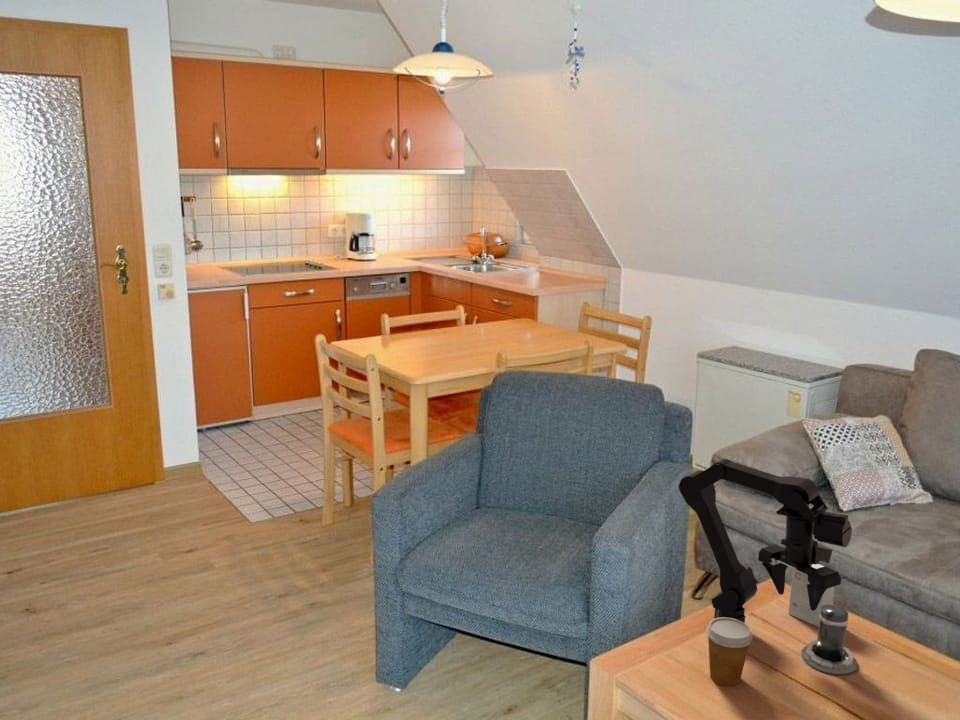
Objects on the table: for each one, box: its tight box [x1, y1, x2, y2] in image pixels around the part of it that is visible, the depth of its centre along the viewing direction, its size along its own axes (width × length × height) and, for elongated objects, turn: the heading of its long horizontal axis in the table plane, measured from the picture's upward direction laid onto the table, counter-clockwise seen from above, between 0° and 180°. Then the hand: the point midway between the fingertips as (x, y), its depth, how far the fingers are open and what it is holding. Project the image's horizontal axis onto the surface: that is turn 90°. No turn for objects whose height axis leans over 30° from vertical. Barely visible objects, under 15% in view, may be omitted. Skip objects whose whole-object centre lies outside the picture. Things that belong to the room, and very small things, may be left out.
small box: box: [788, 563, 836, 628], centre depth 206 cm, size 8×6×13 cm
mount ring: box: [800, 639, 858, 676], centre depth 189 cm, size 12×12×2 cm
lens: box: [815, 604, 849, 662], centre depth 188 cm, size 6×6×12 cm
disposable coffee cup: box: [705, 617, 754, 687], centre depth 180 cm, size 10×10×12 cm
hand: (797, 602), depth 189 cm, fingers open, 9 cm apart
